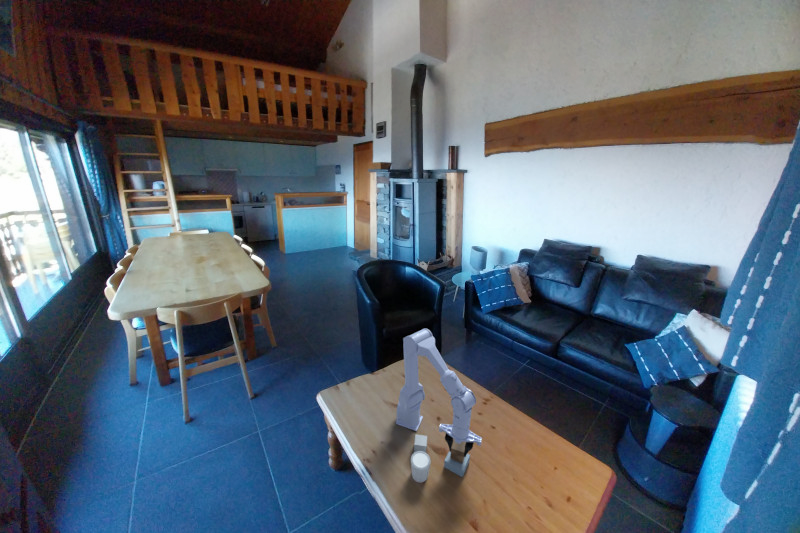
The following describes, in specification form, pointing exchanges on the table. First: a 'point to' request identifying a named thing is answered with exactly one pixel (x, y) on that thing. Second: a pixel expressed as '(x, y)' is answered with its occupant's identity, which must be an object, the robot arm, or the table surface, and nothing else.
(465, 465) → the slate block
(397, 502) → the table surface
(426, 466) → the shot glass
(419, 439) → the grey cube
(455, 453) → the walnut cube
